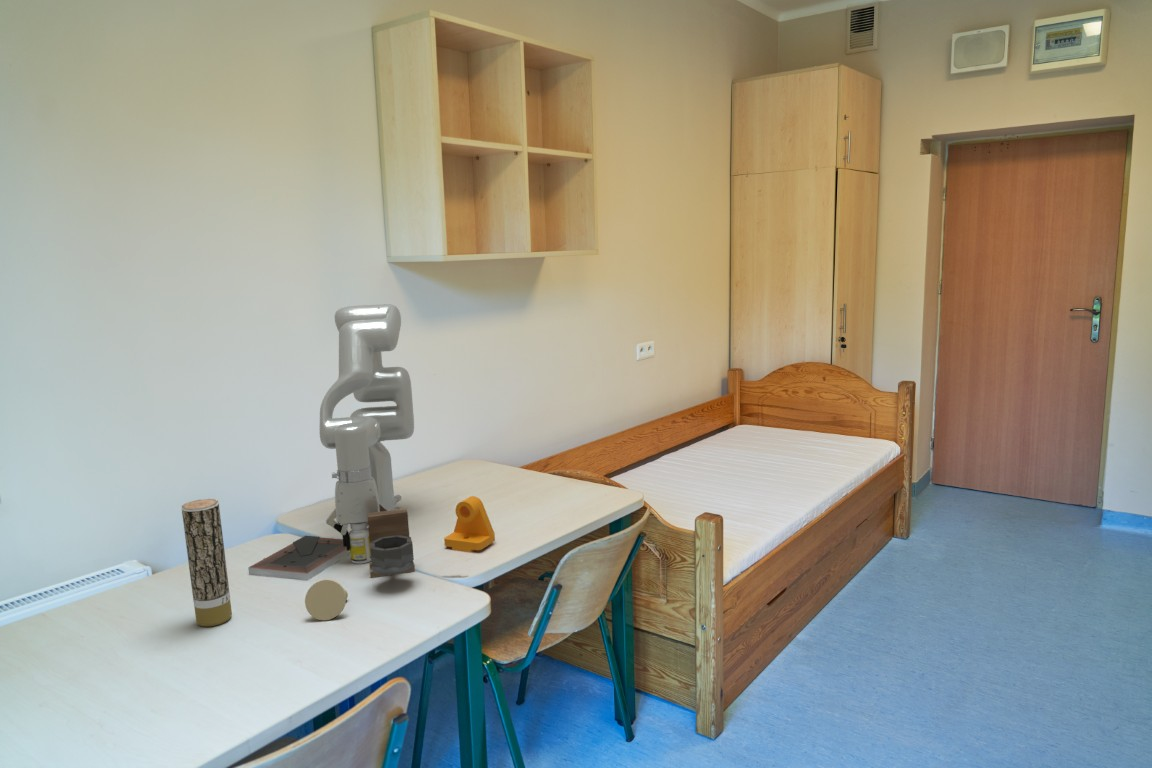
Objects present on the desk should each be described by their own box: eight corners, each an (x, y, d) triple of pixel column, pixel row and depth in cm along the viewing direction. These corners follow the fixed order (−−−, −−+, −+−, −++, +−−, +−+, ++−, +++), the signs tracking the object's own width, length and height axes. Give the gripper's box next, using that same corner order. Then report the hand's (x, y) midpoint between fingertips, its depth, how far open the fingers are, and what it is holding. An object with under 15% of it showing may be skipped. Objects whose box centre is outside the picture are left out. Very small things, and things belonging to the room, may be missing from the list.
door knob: (314, 578, 173) (352, 574, 174) (315, 616, 172) (354, 612, 173) (304, 581, 163) (344, 578, 164) (305, 622, 162) (345, 618, 163)
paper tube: (197, 631, 161) (181, 511, 157) (195, 618, 167) (180, 502, 163) (233, 622, 164) (219, 505, 160) (231, 610, 170) (217, 496, 166)
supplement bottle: (366, 554, 199) (363, 516, 197) (378, 559, 195) (374, 520, 194) (346, 560, 195) (343, 522, 194) (358, 566, 191) (354, 526, 190)
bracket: (443, 549, 200) (439, 502, 199) (459, 539, 207) (455, 494, 205) (480, 553, 196) (477, 506, 194) (495, 543, 203) (492, 498, 201)
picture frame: (306, 544, 210) (249, 576, 189) (305, 535, 209) (248, 566, 189) (360, 549, 205) (308, 582, 184) (359, 539, 204) (307, 572, 184)
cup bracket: (369, 568, 190) (364, 511, 187) (412, 562, 192) (408, 506, 190) (372, 596, 173) (366, 535, 171) (419, 589, 176) (414, 528, 174)
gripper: (316, 483, 186) (324, 557, 189) (392, 474, 190) (398, 547, 193) (317, 475, 193) (324, 546, 196) (390, 467, 198) (396, 537, 201)
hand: (361, 546), depth 195 cm, fingers closed on supplement bottle, 5 cm apart
